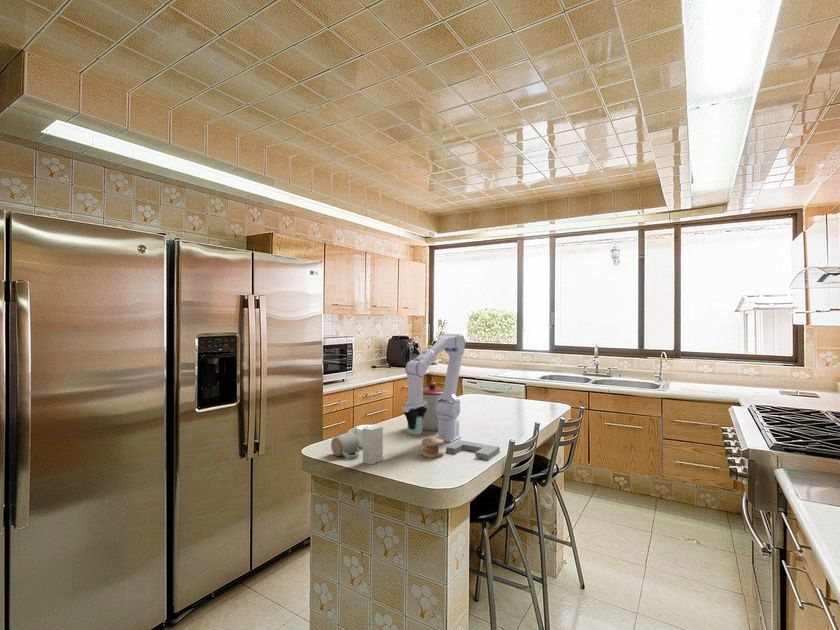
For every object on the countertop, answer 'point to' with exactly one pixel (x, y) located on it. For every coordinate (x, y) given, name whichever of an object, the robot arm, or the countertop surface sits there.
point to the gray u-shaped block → (474, 449)
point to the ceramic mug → (346, 445)
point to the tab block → (417, 426)
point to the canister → (431, 406)
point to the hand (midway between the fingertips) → (415, 427)
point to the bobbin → (432, 447)
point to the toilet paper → (359, 433)
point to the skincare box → (372, 444)
